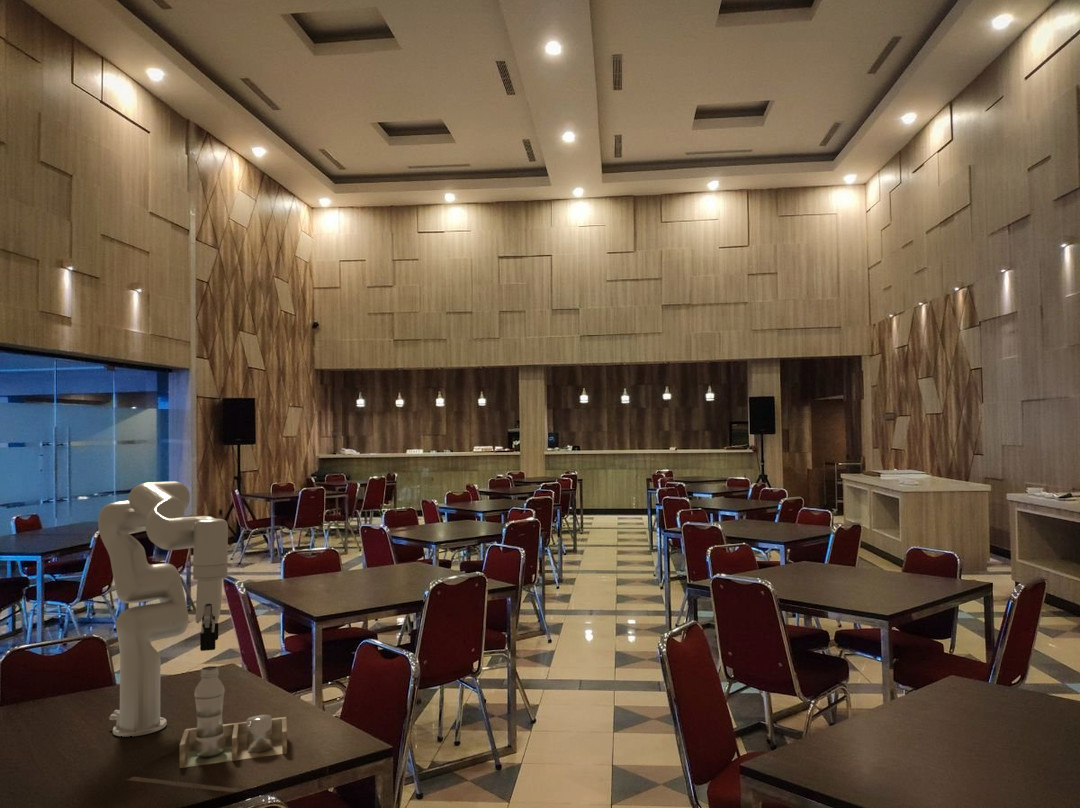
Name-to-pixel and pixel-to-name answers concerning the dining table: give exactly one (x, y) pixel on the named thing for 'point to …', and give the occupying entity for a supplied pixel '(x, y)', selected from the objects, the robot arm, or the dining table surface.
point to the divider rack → (233, 744)
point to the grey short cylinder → (259, 733)
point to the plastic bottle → (209, 713)
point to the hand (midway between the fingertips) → (209, 645)
